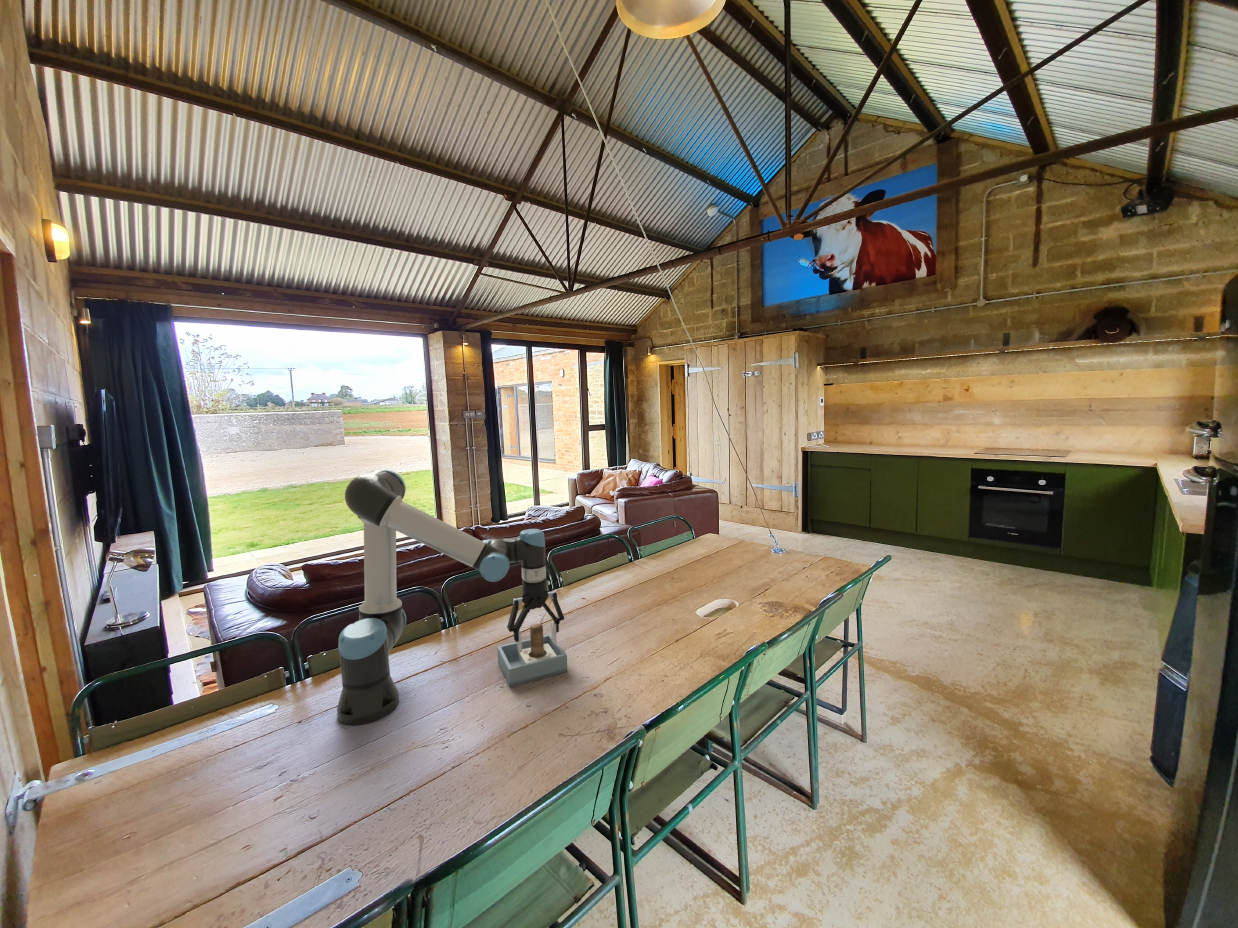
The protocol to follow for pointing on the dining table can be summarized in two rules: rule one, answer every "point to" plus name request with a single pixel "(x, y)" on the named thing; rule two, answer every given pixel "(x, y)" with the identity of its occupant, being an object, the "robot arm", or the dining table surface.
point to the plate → (526, 658)
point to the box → (532, 670)
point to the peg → (536, 641)
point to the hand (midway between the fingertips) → (537, 646)
